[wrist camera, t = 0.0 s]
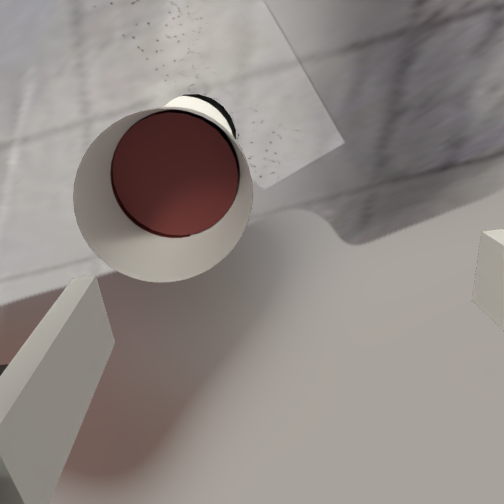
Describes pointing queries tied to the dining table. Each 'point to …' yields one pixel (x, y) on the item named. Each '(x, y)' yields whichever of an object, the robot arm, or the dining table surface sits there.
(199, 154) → the wineglass
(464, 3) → the dining table surface
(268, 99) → the dining table surface
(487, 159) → the dining table surface
